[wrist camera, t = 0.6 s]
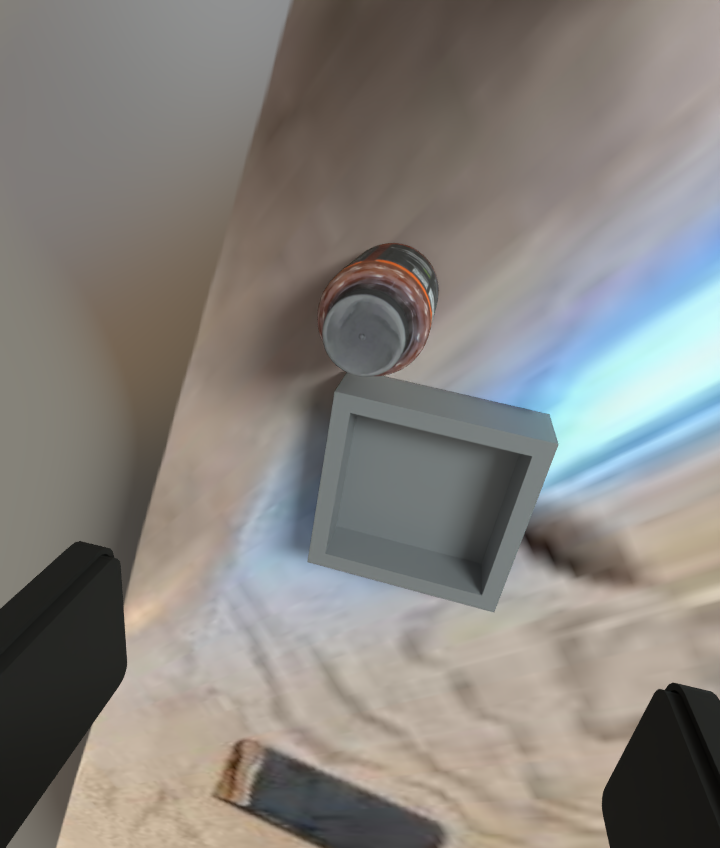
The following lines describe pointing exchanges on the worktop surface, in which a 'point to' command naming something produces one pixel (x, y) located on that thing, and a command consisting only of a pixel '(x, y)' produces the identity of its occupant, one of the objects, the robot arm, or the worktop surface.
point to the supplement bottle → (379, 310)
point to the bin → (428, 487)
